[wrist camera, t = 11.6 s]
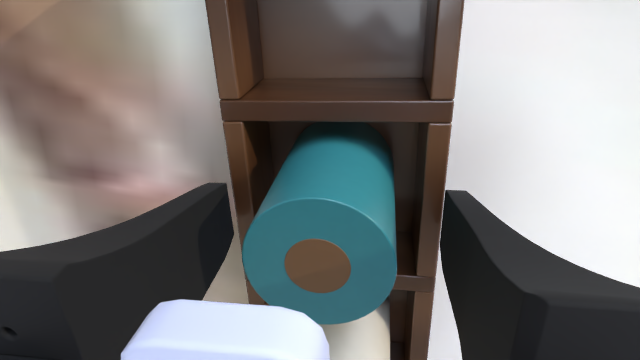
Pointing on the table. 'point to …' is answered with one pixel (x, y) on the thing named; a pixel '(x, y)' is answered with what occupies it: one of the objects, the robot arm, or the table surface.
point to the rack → (346, 113)
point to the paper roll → (327, 226)
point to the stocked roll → (361, 336)
